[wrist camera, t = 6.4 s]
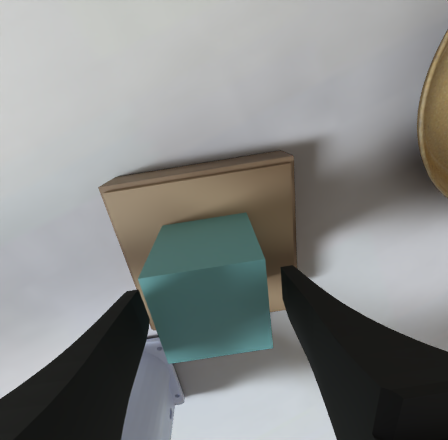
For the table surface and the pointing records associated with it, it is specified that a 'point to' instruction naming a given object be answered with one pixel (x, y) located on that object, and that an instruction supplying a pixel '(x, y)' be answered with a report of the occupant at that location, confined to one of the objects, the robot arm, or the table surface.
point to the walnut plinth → (209, 208)
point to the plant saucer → (435, 119)
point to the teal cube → (208, 289)
